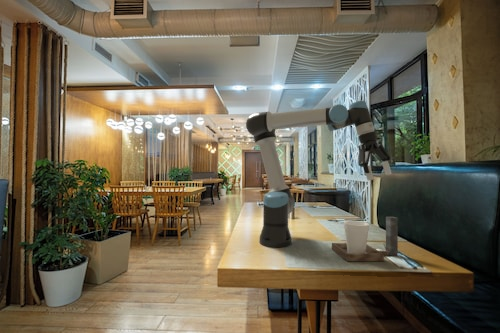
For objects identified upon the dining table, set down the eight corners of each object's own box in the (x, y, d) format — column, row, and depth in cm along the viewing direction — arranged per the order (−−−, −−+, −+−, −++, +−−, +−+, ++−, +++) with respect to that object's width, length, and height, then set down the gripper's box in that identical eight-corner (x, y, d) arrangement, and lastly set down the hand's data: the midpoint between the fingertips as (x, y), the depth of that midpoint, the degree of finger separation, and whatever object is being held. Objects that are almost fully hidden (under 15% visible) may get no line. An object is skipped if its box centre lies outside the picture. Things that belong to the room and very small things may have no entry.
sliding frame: (347, 261, 91) (347, 221, 92) (331, 248, 106) (331, 214, 106) (407, 260, 93) (407, 220, 93) (384, 248, 107) (384, 214, 107)
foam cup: (349, 249, 106) (349, 219, 106) (372, 255, 99) (372, 223, 99) (339, 255, 99) (339, 222, 99) (363, 261, 92) (363, 226, 93)
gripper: (355, 133, 105) (370, 181, 103) (389, 128, 117) (403, 171, 115) (342, 138, 112) (355, 183, 109) (375, 133, 124) (388, 173, 121)
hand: (380, 177), depth 112 cm, fingers open, 13 cm apart
